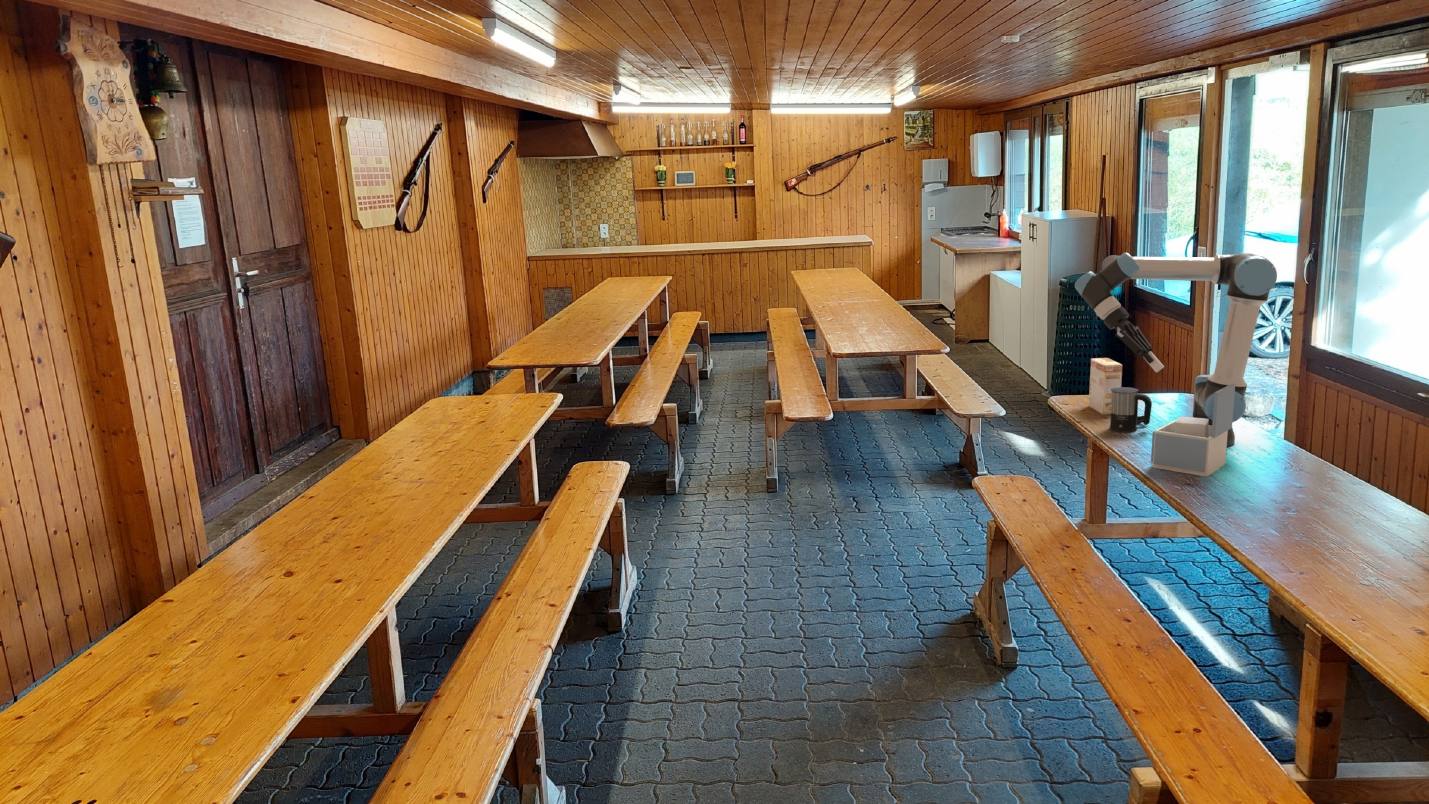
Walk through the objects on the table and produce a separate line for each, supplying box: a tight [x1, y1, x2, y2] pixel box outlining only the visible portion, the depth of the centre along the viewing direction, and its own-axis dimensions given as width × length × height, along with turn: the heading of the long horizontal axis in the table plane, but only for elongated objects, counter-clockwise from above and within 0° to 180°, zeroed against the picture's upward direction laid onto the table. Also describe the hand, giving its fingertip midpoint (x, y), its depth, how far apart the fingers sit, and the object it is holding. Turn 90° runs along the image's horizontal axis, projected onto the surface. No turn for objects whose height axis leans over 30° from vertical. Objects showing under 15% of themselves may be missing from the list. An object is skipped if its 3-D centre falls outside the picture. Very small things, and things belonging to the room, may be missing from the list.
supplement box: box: [1175, 416, 1209, 438], centre depth 310 cm, size 9×9×15 cm
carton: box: [1150, 420, 1228, 477], centre depth 311 cm, size 17×18×12 cm
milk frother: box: [1109, 386, 1153, 433], centre depth 358 cm, size 14×16×15 cm
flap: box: [1211, 384, 1235, 438], centre depth 301 cm, size 1×15×14 cm, turn 135°
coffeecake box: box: [1088, 357, 1123, 415], centre depth 384 cm, size 15×7×20 cm, turn 179°
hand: (1160, 369), depth 313 cm, fingers closed
